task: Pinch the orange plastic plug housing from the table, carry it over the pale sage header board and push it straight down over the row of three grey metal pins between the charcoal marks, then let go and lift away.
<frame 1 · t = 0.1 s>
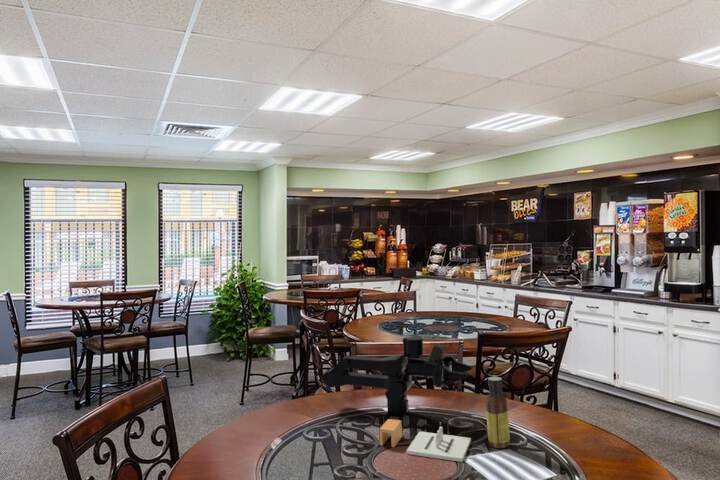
hand: (469, 372, 167), 17 cm above the table, tool horizontal, fingers open, 9 cm apart
plug housing: (391, 441, 155), on the table
header board: (439, 447, 150), on the table
sauce bottle: (498, 445, 150), on the table
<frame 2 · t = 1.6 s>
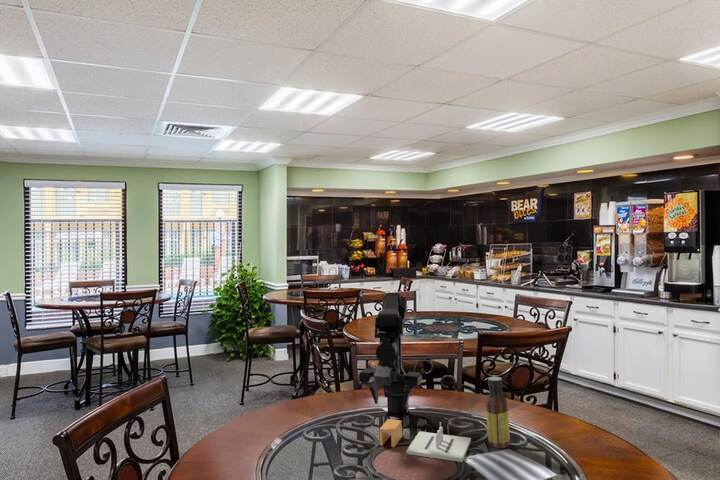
hand: (390, 405, 155), 11 cm above the table, tool pointing down, fingers open, 9 cm apart
nothing on the table moved.
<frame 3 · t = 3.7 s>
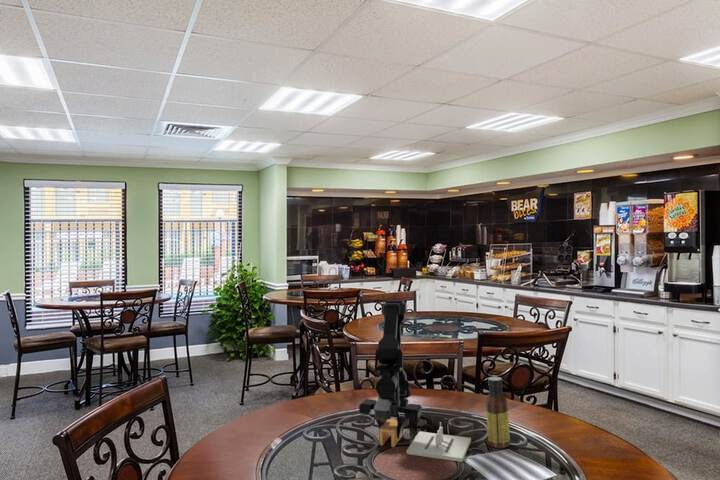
hand: (391, 436, 155), 1 cm above the table, tool pointing down, fingers closed on plug housing, 4 cm apart
plug housing: (391, 440, 155), on the table, touching gripper
everything else where it was.
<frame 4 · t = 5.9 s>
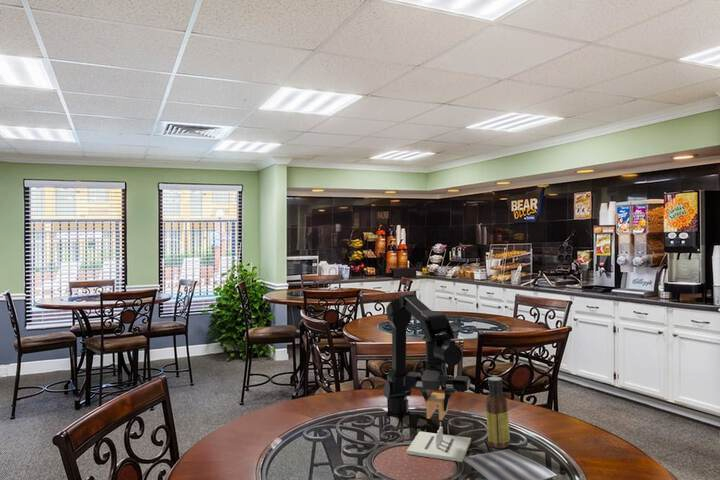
hand: (437, 410, 149), 11 cm above the table, tool pointing down, fingers closed on plug housing, 4 cm apart
plug housing: (437, 414, 149), point 10 cm above the table, touching gripper
everything else where it was.
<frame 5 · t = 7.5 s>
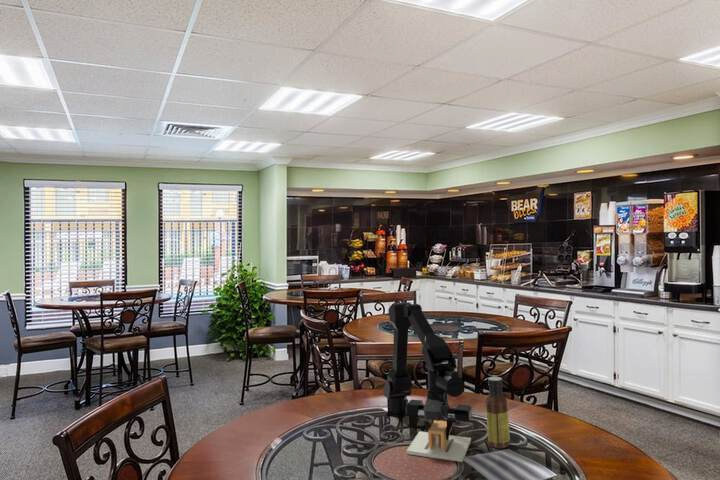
hand: (439, 438, 149), 3 cm above the table, tool pointing down, fingers closed on plug housing, 4 cm apart
plug housing: (439, 442, 149), point 1 cm above the table, touching gripper
everything else where it was.
when the fingers open (2 cm above the table, at t = 8.6 s): plug housing stays where it is, resting on header board.
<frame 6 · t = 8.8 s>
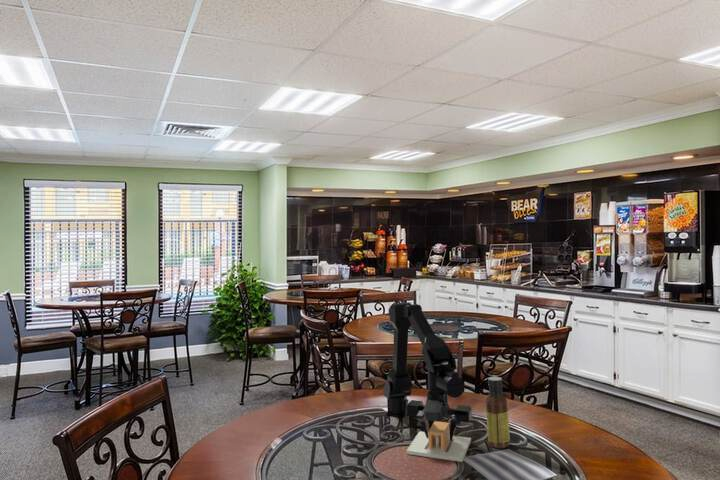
hand: (439, 439, 149), 2 cm above the table, tool pointing down, fingers open, 7 cm apart
plug housing: (439, 444, 149), point 1 cm above the table, touching header board
everything else where it was.
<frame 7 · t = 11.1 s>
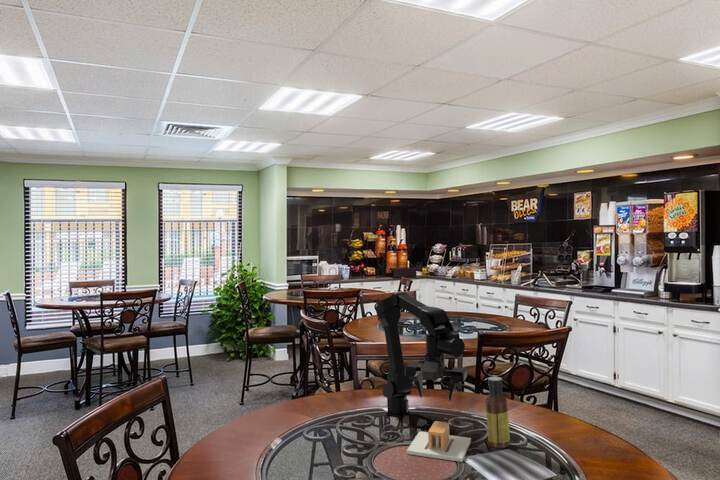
hand: (435, 398, 159), 11 cm above the table, tool pointing down, fingers open, 9 cm apart
nothing on the table moved.
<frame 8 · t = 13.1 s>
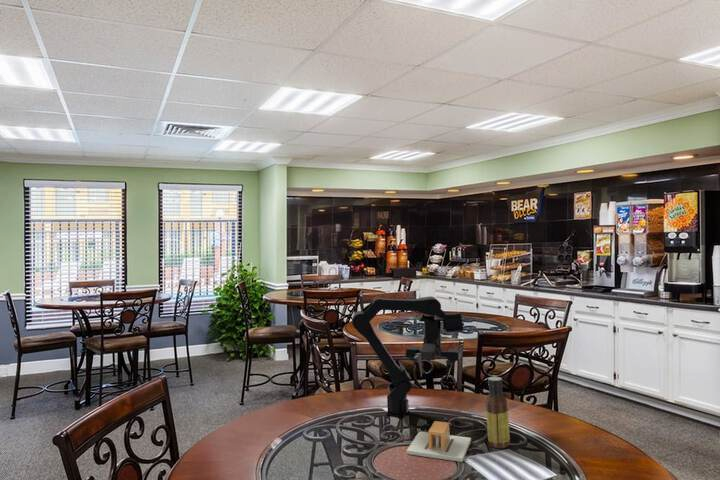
hand: (433, 377, 177), 12 cm above the table, tool pointing down, fingers open, 9 cm apart
nothing on the table moved.
at the end: plug housing 0.1 cm off-centre on the header board, point 1.0 cm above the header board's base; plug housing tilted 0°; the gripper is holding nothing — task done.
